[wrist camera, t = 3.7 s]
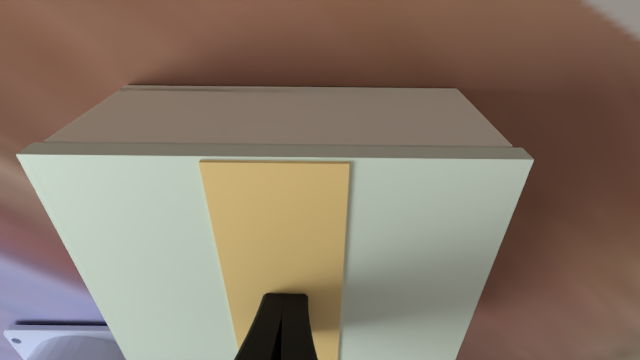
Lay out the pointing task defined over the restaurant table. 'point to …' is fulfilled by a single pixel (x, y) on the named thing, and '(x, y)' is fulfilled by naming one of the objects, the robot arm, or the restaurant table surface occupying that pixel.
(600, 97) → the restaurant table surface
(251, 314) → the box lid
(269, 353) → the robot arm
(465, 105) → the parcel box
